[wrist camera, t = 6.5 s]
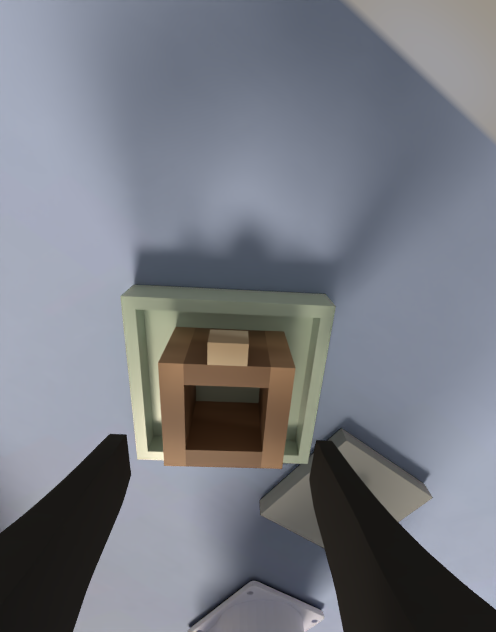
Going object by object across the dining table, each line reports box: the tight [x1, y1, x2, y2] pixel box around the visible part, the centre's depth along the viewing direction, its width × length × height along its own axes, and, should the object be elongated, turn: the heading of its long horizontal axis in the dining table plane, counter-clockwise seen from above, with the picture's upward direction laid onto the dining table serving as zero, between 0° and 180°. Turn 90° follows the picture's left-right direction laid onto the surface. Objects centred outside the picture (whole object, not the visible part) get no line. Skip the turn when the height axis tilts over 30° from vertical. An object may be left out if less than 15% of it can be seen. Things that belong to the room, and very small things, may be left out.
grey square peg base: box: [260, 428, 433, 549], centre depth 19 cm, size 8×8×4 cm
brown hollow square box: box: [158, 327, 296, 469], centre depth 15 cm, size 6×6×4 cm
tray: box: [121, 285, 336, 464], centre depth 16 cm, size 10×10×2 cm
